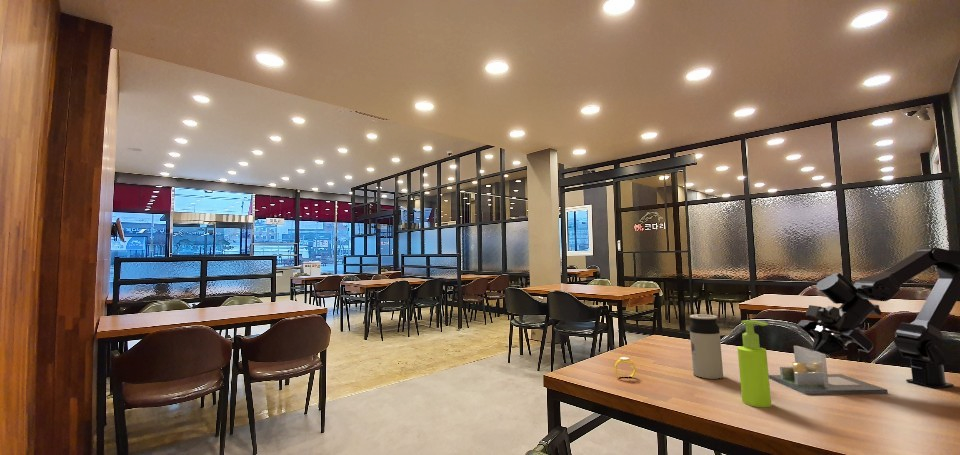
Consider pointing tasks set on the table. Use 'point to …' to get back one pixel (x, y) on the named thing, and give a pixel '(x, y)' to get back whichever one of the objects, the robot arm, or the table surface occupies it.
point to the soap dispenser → (753, 368)
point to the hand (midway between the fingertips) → (812, 356)
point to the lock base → (830, 384)
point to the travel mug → (706, 346)
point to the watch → (625, 361)
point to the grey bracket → (808, 368)
